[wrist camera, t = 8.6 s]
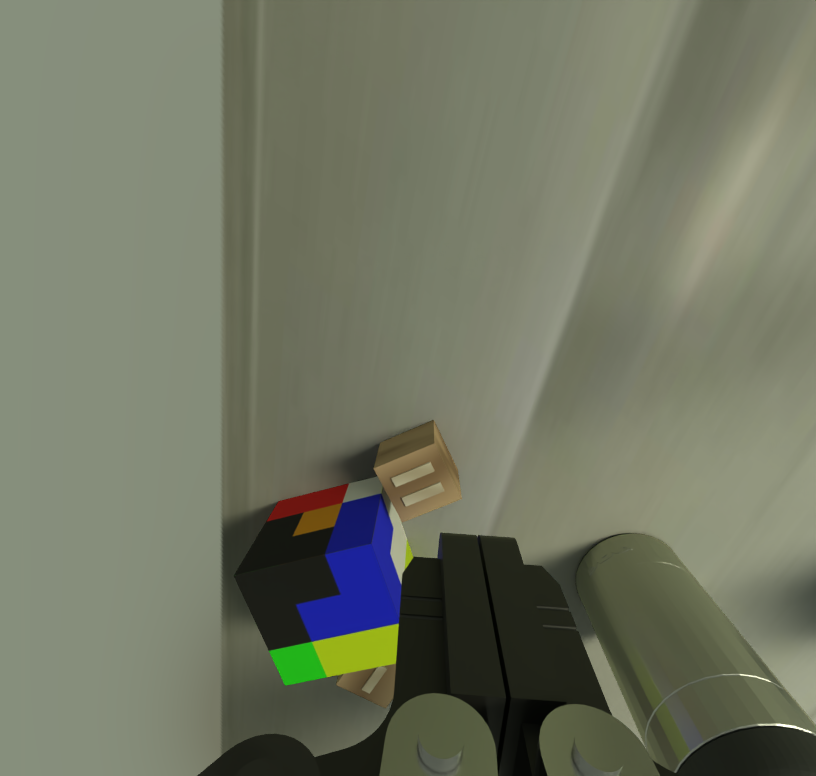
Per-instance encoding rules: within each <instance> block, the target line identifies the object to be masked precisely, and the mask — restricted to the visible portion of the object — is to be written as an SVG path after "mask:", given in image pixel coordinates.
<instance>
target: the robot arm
mask: <svg viewBox="0 0 816 776" xmlns="http://www.w3.org/2000/svg"><path fill="white" fill-rule="evenodd" d="M576 586H577V591H578V594H579V596H580V599H581V601H582V603H583V605H584V608H585V610H586V612H587V614H588V617H589V619H590V621H591V624H592V626H593V629H594V631H595V633H596V635H597V638H598V640H599V642H600V644H601V647H602V649H603V651H604V654H605V656H606V658H607V660H608V663H609V665H610V667H611V670H612V672H613V674H614V676H615V679H616V681H617V683H618V685H619V688H620V690H621V692H622V695H623V697H624V699H625V701H626V704H627V706H628V708H629V710H630V713H631V715H632V717H633V720H634V722H635V724H636V726H637V729H638V731H639V733H640V736H641V738H642V740H643V742H644V745H645V747H646V748H645V747H644V745H643V744H642V743H641V741H640V740H639V739H638V737H637V736H636V735H635V734H634V733H633V732H632V731H631V730H630V729H629V728H628V727H627V726H625V725H624V724H623V723H622V722H621V721H619V720H618V719H616V718H615V717H613V716H612V714H611V712H610V710H609V707H608V705H607V702H606V700H605V697H604V695H603V692H602V690H601V687H600V685H599V682H598V680H597V677H596V675H595V672H594V670H593V667H592V665H591V662H590V660H589V657H588V655H587V652H586V650H585V647H584V645H583V642H582V640H581V637H580V635H579V632H578V631H576V625H575V622H574V620H573V617H572V615H571V612H569V610H568V608H569V607H568V605H567V602H566V600H565V597H564V595H563V592H562V590H561V587H560V585H559V584H558V583H557V582H556V581H555V580H554V579H553V578H552V576H551V575H550V574H549V573H548V572H547V571H546V570H545V569H544V568H543V567H542V566H536V565H524V564H523V560H522V557H521V554H520V551H519V548H518V544H517V542H516V539H515V538H510V537H496V536H482V535H478V537H477V536H476V535H466V534H452V533H440V538H439V548H438V559H437V558H423V557H413V559H412V560H411V562H410V563H409V565H408V566H407V568H406V569H405V570H404V572H403V573H402V584H401V598H400V612H399V627H398V641H397V656H396V670H395V685H394V696H393V702H392V705H391V708H390V711H389V713H388V715H387V717H386V718H385V720H384V721H383V723H382V724H381V725H380V727H379V728H378V729H377V730H376V731H375V732H374V733H373V734H372V735H370V736H369V737H368V738H366V739H365V740H363V741H361V742H360V743H358V744H356V745H354V746H351V747H348V748H346V749H342V750H339V751H335V752H332V753H328V754H325V755H321V756H318V757H314V756H313V755H312V753H311V752H310V751H309V749H308V748H307V747H306V746H304V745H303V744H302V743H301V742H299V741H298V740H296V739H294V738H292V737H289V736H286V735H280V734H264V735H260V736H255V737H252V738H250V739H247V740H244V741H243V742H241V743H239V744H237V745H235V746H234V747H232V748H231V749H230V750H228V751H227V752H225V753H224V754H223V755H222V756H221V757H219V758H218V759H217V760H216V761H215V762H214V763H212V764H211V765H210V766H208V767H207V768H206V769H205V770H204V771H203V772H201V773H200V774H199V775H198V776H816V725H815V724H814V722H813V721H812V720H811V719H810V717H809V716H808V715H807V714H806V713H805V711H804V710H803V709H802V708H801V706H800V705H799V704H798V703H797V702H796V700H795V699H794V698H793V697H792V696H791V695H790V693H789V692H788V691H787V690H786V689H785V687H784V686H783V685H782V684H781V683H780V681H779V680H778V679H777V678H776V676H775V675H774V674H773V673H772V672H771V670H770V669H769V668H768V667H767V665H766V664H765V663H764V662H763V661H762V659H761V658H760V657H759V656H758V654H757V653H756V652H755V651H754V650H753V648H752V647H751V646H750V645H749V643H748V642H747V641H746V640H745V639H744V637H743V636H742V635H741V634H740V632H739V631H738V630H737V629H736V628H735V626H734V625H733V624H732V623H731V621H730V620H729V619H728V618H727V617H726V615H725V614H724V613H723V612H722V610H721V609H720V608H719V607H718V606H717V604H716V603H715V602H714V601H713V599H712V598H711V597H710V596H709V595H708V593H707V592H706V591H705V590H704V588H703V587H702V586H701V585H700V584H699V582H698V581H697V580H696V578H695V577H694V576H693V575H692V574H691V572H690V571H689V570H688V569H687V568H686V566H685V565H684V564H683V563H682V562H681V560H680V559H679V558H678V557H677V555H676V554H675V553H674V552H673V551H672V549H671V548H670V547H669V546H667V545H666V544H665V543H664V542H662V541H660V540H658V539H656V538H654V537H651V536H647V535H643V534H624V535H618V536H615V537H611V538H608V539H606V540H605V541H603V542H601V543H599V544H597V545H596V546H595V547H594V548H592V549H591V550H590V551H589V552H588V553H587V554H586V556H585V557H584V558H583V560H582V561H581V563H580V565H579V567H578V571H577V574H576ZM646 749H647V750H646ZM647 751H648V752H647Z"/></svg>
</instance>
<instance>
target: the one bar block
mask: <svg viewBox="0 0 816 776" xmlns="http://www.w3.org/2000/svg"><path fill="white" fill-rule="evenodd" d="M395 670H396V664H391V665H386V666H381V667H376V668H371V669H366V670H361V671H356V672H351V673H346V674H341V675H338V678H337V683H336V685H337V686H339V687H341V688H343V689H346V690H348V691H350V692H352V693H354V694H356V695H358V696H360V697H363V698H365V699H367V700H369V701H371V702H373V703H375V704H377V705H379V706H382V707H384V708H386V707H387V706H388V705H389V703H390V702H391V701H392V699H393V696H394V685H395Z"/></svg>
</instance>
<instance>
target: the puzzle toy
mask: <svg viewBox="0 0 816 776" xmlns="http://www.w3.org/2000/svg"><path fill="white" fill-rule="evenodd" d="M412 559H413V556H412V553H411V550H410V547H409V544H408V541H407V538H406V535H405V532H404V529H403V526H402V523H401V520H400V517H399V515H398V513H397V512H396V510H395V508H394V506H393V504H392V502H391V500H390V498H389V497H388V495H387V493H386V491H385V489H384V487H383V485H382V483H381V482H380V480H379V478H378V476H377V477H373V478H369V479H365V480H361V481H357V482H353V483H349V484H345V485H341V486H337V487H333V488H329V489H325V490H321V491H317V492H313V493H310V494H306V495H302V496H298V497H294V498H290V499H286V500H282V501H278V503H277V505H276V506H275V508H274V510H273V511H272V513H271V515H270V516H269V518H268V520H267V521H266V523H265V525H264V526H263V528H262V530H261V531H260V533H259V535H258V536H257V538H256V540H255V541H254V543H253V545H252V546H251V548H250V550H249V551H248V553H247V555H246V556H245V558H244V560H243V561H242V563H241V565H240V566H239V568H238V570H237V571H236V573H235V575H234V577H235V579H236V581H237V583H238V586H239V588H240V590H241V592H242V594H243V596H244V599H245V601H246V603H247V605H248V607H249V609H250V611H251V614H252V616H253V618H254V620H255V622H256V624H257V626H258V629H259V631H260V633H261V635H262V637H263V639H264V641H265V644H266V646H267V648H268V650H269V652H270V654H271V656H272V659H273V661H274V663H275V665H276V667H277V669H278V671H279V674H280V676H281V678H282V680H283V682H284V684H285V686H286V685H291V684H296V683H301V682H306V681H311V680H316V679H321V678H326V677H331V676H336V675H341V674H346V673H351V672H356V671H361V670H366V669H371V668H376V667H381V666H386V665H391V664H396V656H397V641H398V627H399V612H400V598H401V584H402V573H403V572H404V570H405V569H406V568H407V566H408V565H409V563H410V562H411V560H412Z"/></svg>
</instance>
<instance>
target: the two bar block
mask: <svg viewBox="0 0 816 776" xmlns="http://www.w3.org/2000/svg"><path fill="white" fill-rule="evenodd" d="M374 470H375V472H376V474H377V476H378V478H379V480H380V482H381V483H382V485H383V487H384V489H385V491H386V493H387V495H388V497H389V498H390V500H391V502H392V504H393V506H394V508H395V510H396V512H397V513H398V515H399V517H400V519H401V521H402V522H404V521H407V520H410V519H412V518H415V517H417V516H420V515H422V514H425V513H427V512H430V511H432V510H435V509H437V508H440V507H443V506H445V505H448V504H450V503H453V502H455V501H458V500H460V499H462V497H461V490H460V483H459V475H458V469H457V467H456V465H455V463H454V461H453V459H452V457H451V455H450V453H449V451H448V449H447V446H446V444H445V442H444V440H443V438H442V436H441V434H440V432H439V430H438V428H437V426H436V424H435V422H434V420H432V421H430V422H428V423H425V424H423V425H421V426H418V427H416V428H414V429H411V430H409V431H407V432H404V433H402V434H400V435H397V436H395V437H393V438H390V439H388V440H385V441H383V442H381V443H380V445H379V449H378V453H377V457H376V461H375V465H374Z"/></svg>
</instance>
